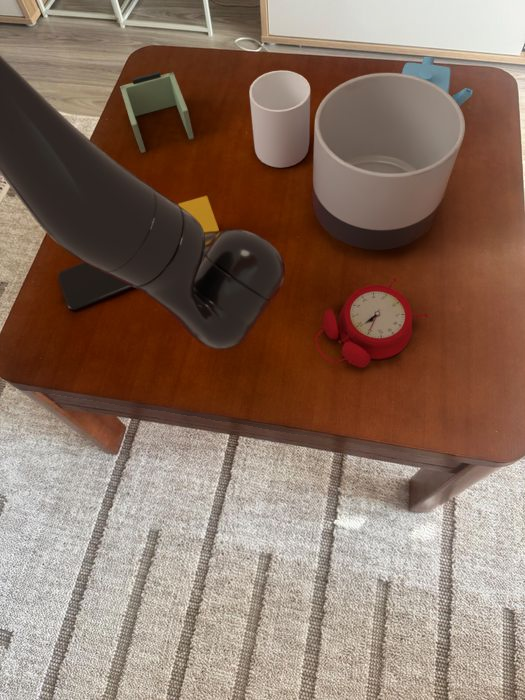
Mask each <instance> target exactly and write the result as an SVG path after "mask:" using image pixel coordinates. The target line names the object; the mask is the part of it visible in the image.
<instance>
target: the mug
mask: <svg viewBox="0 0 525 700" xmlns="http://www.w3.org/2000/svg"><path fill="white" fill-rule="evenodd" d="M248 92H249V104H250V114H251V124H252V126H251V127H252V135H253V145H254V152H255V155H256V156H257V158H258V160H260V162H261V163H263V164H265V165H266V166H270V167H273V168H280V169H281V168H289V167H292V166H295V165H297V164H299V163H300V162H302V160H304V158H306V156H307V154H308V153H309V147H310V127H311V126H310V123H311V86H310V83H309V82H308V80H307V78H305V77H304V76H303V75H301V74H299V73H297V72H294V71H290V70H272V71H269V72H266V73H263V74H262V75H259V76H258V77H257V78H256V79H254V81H253V82H252V83H251V85H250V86H249V91H248Z"/></svg>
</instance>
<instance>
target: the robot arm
mask: <svg viewBox="0 0 525 700" xmlns="http://www.w3.org/2000/svg"><path fill="white" fill-rule="evenodd" d="M0 175H1V176H2V178H3V179H4V181H5V182H6V183H7V184H8V186H9V187H10V188H11V190H12V191H13V193H14V194H15V195H16V197H17V198H18V199H19V201H20V203H22V204H23V205H24V208H25V209H27V211H28V213H30V215H31V216H32V217H33V219H34V220H35V221H36V222H37V224H38V225H39V226H40V227H41V228H42V229H43V231H44V232H45V233H46V234H47V235H48V236H49V237H50V238H51V239H52V240H53V241H54V242H55V243H56V244H58V245H59V246H60V247H61V248H62V249H63V250H64V251H66V252H67V253H69V254H70V255H71V256H73V257H74V258H76V259H78V260H79V261H81V262H82V263H86V264H88V265H90V266H92V267H94V268H96V269H98V270H100V271H102V272H104V273H106V274H108V275H110V276H112V277H114V278H116V279H118V280H120V281H122V282H124V283H126V284H128V285H130V286H132V287H134V288H133V289H136V290H138V291H140V292H141V293H143V294H144V295H146V296H147V297H149V298H150V299H152V300H153V301H155V302H156V303H157V304H158V305H160V306H161V307H162V308H163V309H165V310H166V311H167V312H168V313H169V314H170V315H171V316H172V317H173V318H174V319H175V320H176V321H177V322H178V323H179V325H180V326H181V327H182V328H183V329H184V330H185V331H186V332H187V333H188V334H189V335H190V336H191V337H192V338H193V339H195V340H196V341H197V342H198V343H200V344H201V345H203V346H205V347H207V348H208V349H212V350H217V351H226V350H230V349H231V350H232V349H234V348H236V347H238V346H239V345H241V344H242V343H243V342H244V341H245V340H246V339H247V337H248V336H249V335H250V333H251V331H253V329H254V328H255V326H256V324H257V323H258V322H259V320H260V319H261V318H262V316H263V314H264V313H265V311H266V310H267V309H268V307H269V306H270V304H271V303H272V301H273V300H274V299H275V298H276V296H277V295H278V293H279V292H280V290H281V288H282V287H283V285H284V281H285V278H286V266H285V261H284V259H283V257H282V256H281V254H280V252H279V251H278V249H277V248H276V247H275V246H274V245H273V244H272V243H271V242H270V241H268V240H267V239H266V238H264V237H262V236H261V235H258V234H256V233H254V232H251V231H248V230H245V229H240V228H230V229H224V230H222V231H219V232H216V231H209V232H204V231H203V228H202V226H201V225H200V223H199V222H198V221H197V220H196V219H195V218H194V217H193V216H192V215H191V214H190V213H188V212H187V211H186V210H184V209H183V208H181V207H180V206H179V205H178V204H177V202H176V203H175V201H173V200H172V199H170V198H169V197H167V196H165V195H164V194H163V193H161V192H160V191H159V190H157V189H156V188H154V187H153V186H152V185H150V184H149V183H147V182H146V181H144V180H143V179H141V178H140V177H139V176H137V175H136V174H134V173H132V172H131V171H130V170H128V169H127V168H126V167H124V166H123V165H122V164H121V163H120V162H118V161H116V160H115V159H114V158H112V157H111V156H110V155H108V154H107V153H106V152H105V151H104V150H103V149H101V148H100V147H99V146H98V145H96V143H94V142H93V141H92V140H90V139H89V138H88V137H87V136H86V135H85V134H83V133H82V132H81V130H79V129H78V128H77V127H75V126H74V125H73V124H72V123H71V122H70V121H69V120H68V119H67V118H66V117H65V116H64V115H62V113H60V111H59V110H57V108H55V107H54V106H53V104H51V103H50V102H49V101H48V100H47V99H46V98H45V97H44V96H42V94H41V93H39V91H37V90H36V89H35V87H33V86H32V85H31V84H30V82H29V81H27V80H26V79H25V78H24V77H23V76H22V75H21V74H20V73H19V72H18V71H17V70H16V69H15V68H14V67H13V65H11V64H10V63H9V62H8V61H7V60H6V59H5V58H4V57H2V56H1V55H0Z"/></svg>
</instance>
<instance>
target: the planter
mask: <svg viewBox="0 0 525 700" xmlns="http://www.w3.org/2000/svg"><path fill="white" fill-rule="evenodd" d="M451 96H452V95H450V94H448V93H447V92H446V91H445V90H443V89H442V88H440V87H439V86H437V85H435V84H434V83H432V82H429V81H427V80H425V79H422V78H419V77H415V76H412V75H407V74H401V73H400V72H375V73H369V74H364V75H361V76H357V77H354V78H351V79H349V80H347V81H345V82H343V83H341V84H339V85H338V86H336V87H334V89H332V90H331V91H330V92H329V93H327V95H325V97H324V98H323V99H322V100H321V102H320V104H319V105H318V108H317V109H316V113H315V116H314V129H313V130H314V132H313V135H314V136H313V164H312V193H311V194H312V197H311V200H312V201H311V204H312V210H313V212H314V215H315V217H316V220H317V221H318V222H319V224H320V225H321V227H322V228H323V229H324V230H325V231H326V232H327V233H328V234H330V235H331V236H332V237H334V238H335V239H337V240H338V241H340V242H342V243H344V244H346V245H349V246H352V247H355V248H359V249H363V250H364V249H365V250H373V251H375V250H376V251H380V250H381V251H383V250H385V251H386V250H391V249H396V248H400V247H404V246H406V245H408V244H409V245H410V243H413V242H414V241H416V240H418V239H419V238H421V237H422V236H423V235H425V233H427V232H428V230H429V229H430V228H431V227H432V226H433V224H434V222H435V220H436V218H437V215H438V213H439V211H440V207H441V204H442V202H443V198H444V196H445V193H446V189H447V187H448V184H449V181H450V179H451V175H452V173H453V169H454V167H455V164H456V161H457V158H458V155H459V152H460V150H461V146H462V144H463V141H464V139H465V138H464V137H465V133H466V122H465V116H464V114H463V110H462V109H461V107H460V106H459V105H458V104H457V103H456V101H455V100H454V99H453V98H452V97H451Z"/></svg>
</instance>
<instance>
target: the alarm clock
mask: <svg viewBox="0 0 525 700" xmlns="http://www.w3.org/2000/svg"><path fill="white" fill-rule="evenodd" d="M396 281H397V278H396V277H394V278H392V281H391V283H390V284H389V286H386V285H382V284H371V285H366V286H363V287H360V288H359V289H357V290H355V291H354V292H353V293H352V294H351V295H350V296H349V297H348V298H347V300H346V302H345V303H344V305H343V307H342V308H341V310H340V312H339V315H338V318H337V320H336V316H335V313H334V310H333V309H332V308H329V309H327V310H325V311H324V313H323V314H322V324H320V326H319V327H320V328H322V329H321V330H320V331H319V332H318V333H317V335H316V337H315V340H314V343H315V346H316V349H317V350H318V352H319V354H320V355H321V356H322V357H323V358H324V359H325V360H326V361H328V362H330V363H332V364H338V363H341V362H344V361H347V362H348V364H349V365H352V366H355V367H357V368H365V367H367V366H368V365H369V364H370V363H371V360H383V359H384V360H385V359H388V358H391V357H394V356H395V355H398V354H399V353H400V352H402V351H403V350H404V349H406V347H407V345H408V344H409V342H410V340H411V338H412V336H413V335H412V334H413V318H419V317H425V318H428V317H429V314H428V313H425V314H413V312H412V308H411V306H410V303H409V301H408V300H407V298H406V297H405V296H404V295H403V294H402V293H400V291H398V290H396V289H394V288H392V287H393V285H394V283H395V282H396ZM324 332H325V334H326V336H327V337H328V339H330V340H337V339H338V338H340V339H339V340H338V341H337V342H338V343H339V345H341V344H342V343H343V346H342V347H341V354H342V356H343V357H344V358H342V359H339V360H333V359H331V358H328V357H327V356H326V355H325V354H324V353H323V352H322V350H321V349H320V347H319V344H318V338H319V336H320V335H322V333H324Z"/></svg>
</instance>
